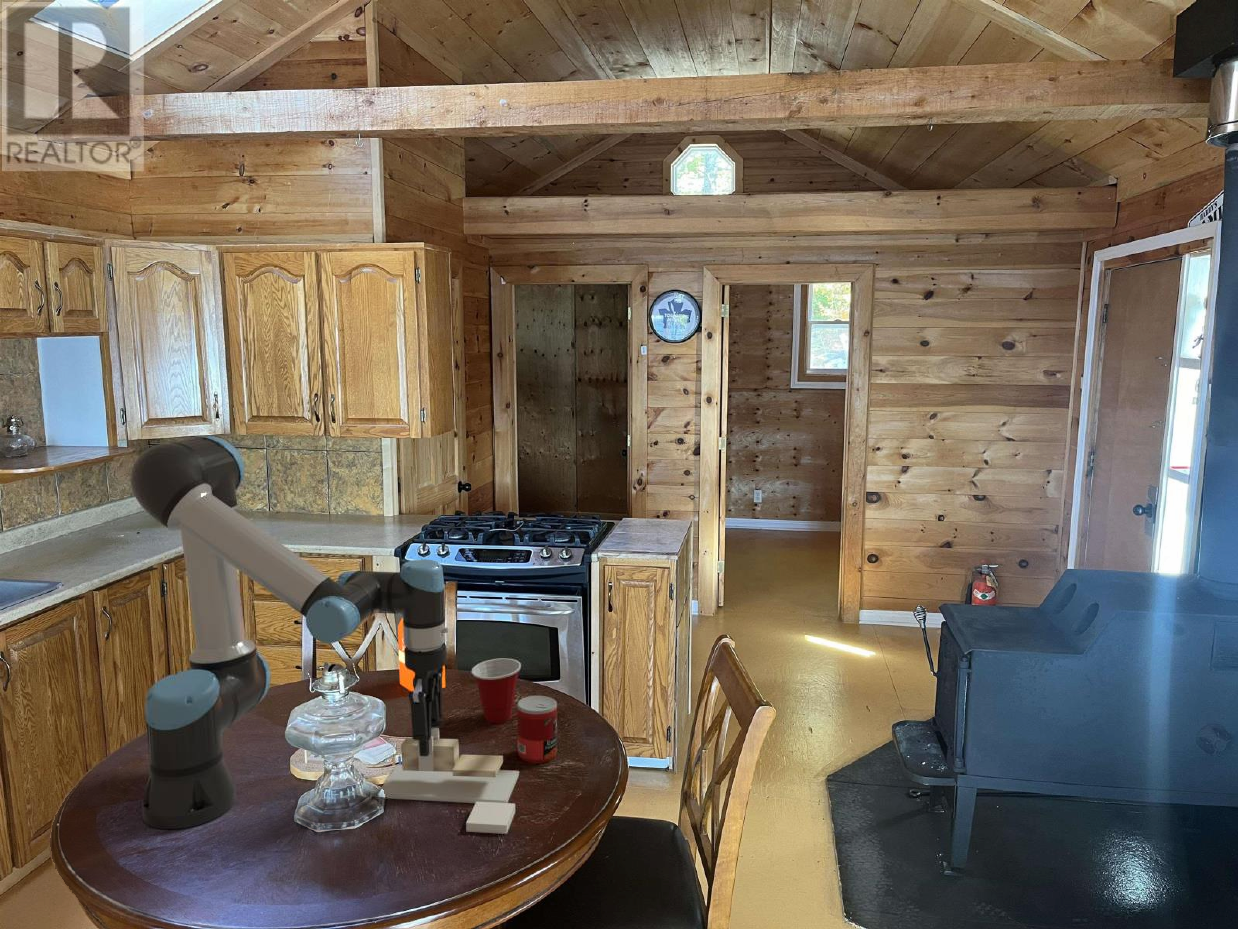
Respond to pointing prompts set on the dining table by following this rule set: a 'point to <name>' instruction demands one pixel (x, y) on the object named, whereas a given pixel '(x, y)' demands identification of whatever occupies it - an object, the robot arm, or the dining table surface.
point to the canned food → (537, 729)
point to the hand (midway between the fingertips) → (429, 765)
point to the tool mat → (449, 786)
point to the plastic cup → (497, 687)
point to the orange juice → (405, 673)
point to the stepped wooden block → (451, 759)
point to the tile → (490, 817)
